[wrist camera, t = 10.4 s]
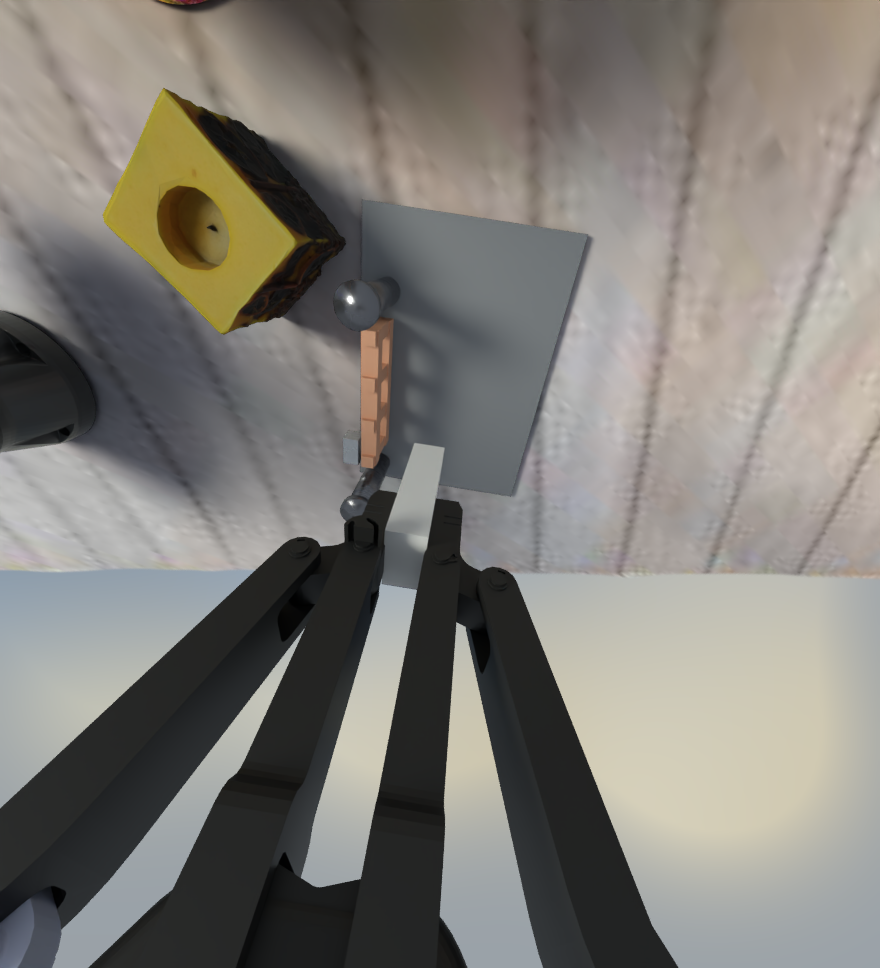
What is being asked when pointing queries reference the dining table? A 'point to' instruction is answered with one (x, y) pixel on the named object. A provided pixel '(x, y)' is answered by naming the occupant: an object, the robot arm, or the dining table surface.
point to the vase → (182, 1)
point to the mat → (468, 334)
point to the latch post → (368, 480)
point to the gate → (375, 389)
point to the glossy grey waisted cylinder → (364, 301)
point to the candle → (219, 216)
